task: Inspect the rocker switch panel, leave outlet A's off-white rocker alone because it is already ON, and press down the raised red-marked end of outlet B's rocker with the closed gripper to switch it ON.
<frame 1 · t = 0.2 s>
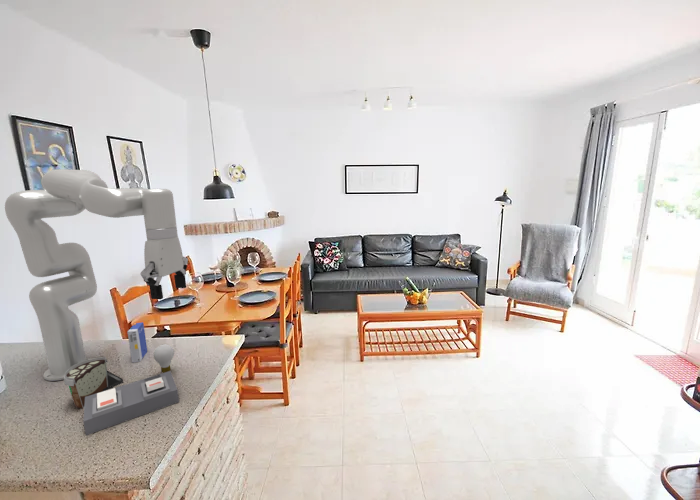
hand: (169, 293, 94), 31 cm above the counter, tool pointing down, fingers open, 9 cm apart
rocker b: (154, 384, 93), point 6 cm above the counter, hinge at -12.0°
rocker a: (106, 399, 87), point 6 cm above the counter, hinge at 12.0°
light bulb: (166, 373, 109), on the counter
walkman: (140, 357, 119), on the counter
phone: (99, 383, 104), on the counter
rocker switch panel: (134, 405, 92), on the counter
food container: (86, 398, 96), on the counter
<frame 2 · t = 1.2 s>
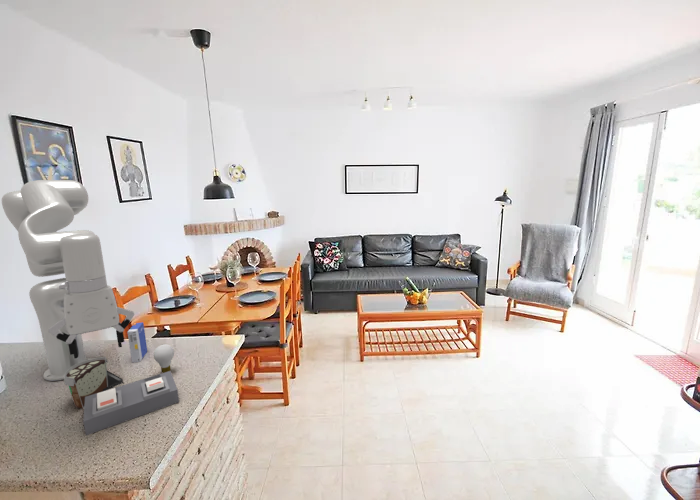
hand: (99, 350, 83), 20 cm above the counter, tool pointing down, fingers open, 8 cm apart
nothing on the counter moved.
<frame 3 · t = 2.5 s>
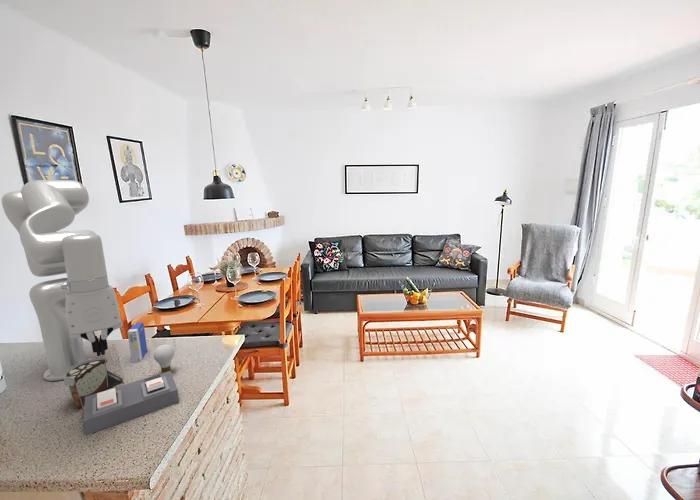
hand: (101, 353, 83), 19 cm above the counter, tool pointing down, fingers closed
nothing on the counter moved.
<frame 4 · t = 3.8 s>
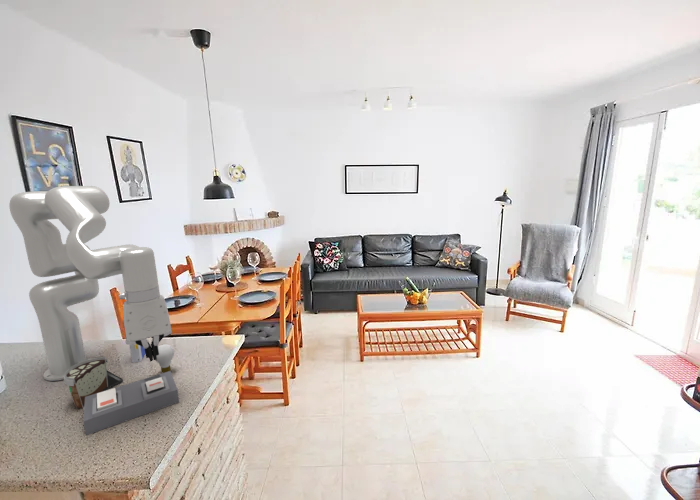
hand: (152, 358, 89), 15 cm above the counter, tool pointing down, fingers closed
nothing on the counter moved.
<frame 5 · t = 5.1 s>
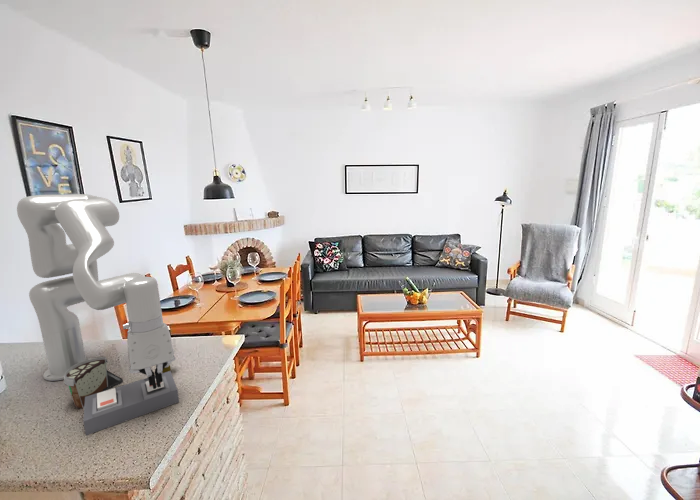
hand: (156, 385, 91), 7 cm above the counter, tool pointing down, fingers closed
rocker b: (154, 384, 93), point 6 cm above the counter, hinge at -9.9°, touching gripper
everything else where it was.
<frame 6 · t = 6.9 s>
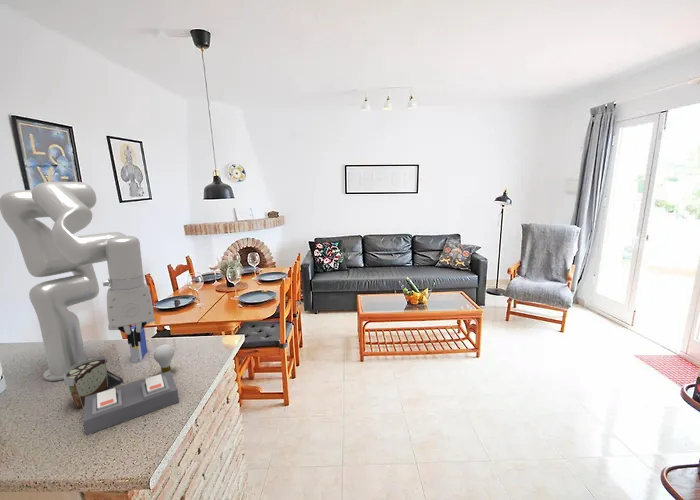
hand: (134, 344, 92), 17 cm above the counter, tool pointing down, fingers closed
rocker b: (154, 384, 93), point 6 cm above the counter, hinge at 10.2°
everything else where it was.
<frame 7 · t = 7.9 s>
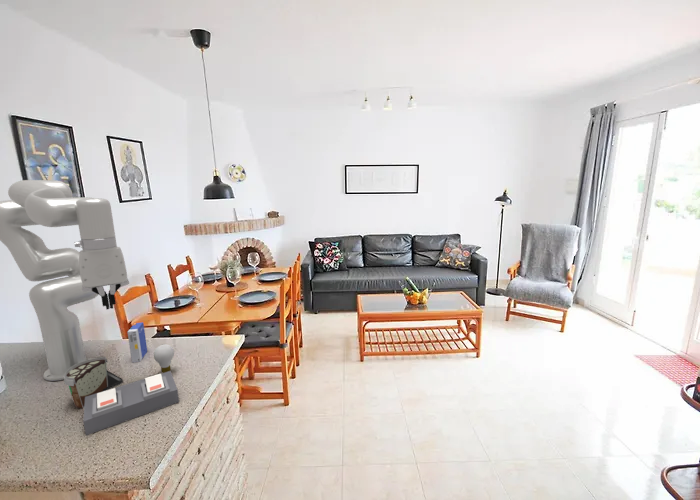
hand: (109, 307, 93), 27 cm above the counter, tool pointing down, fingers closed
rocker b: (154, 384, 93), point 6 cm above the counter, hinge at 16.2°
everything else where it was.
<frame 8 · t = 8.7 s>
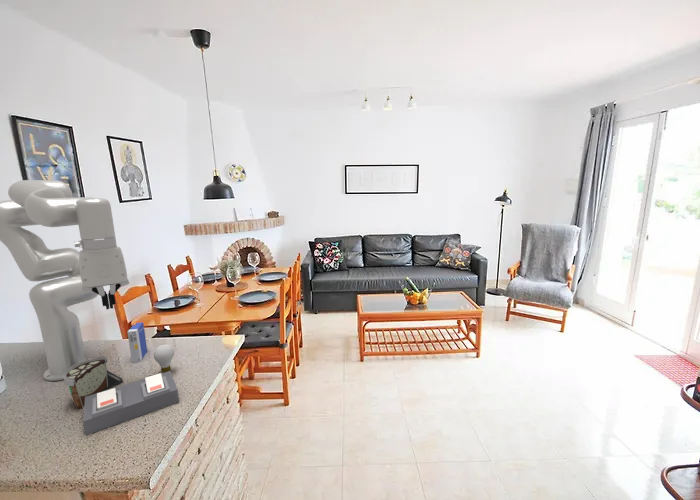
hand: (109, 307, 93), 27 cm above the counter, tool pointing down, fingers closed
rocker b: (154, 384, 93), point 6 cm above the counter, hinge at 19.7°
everything else where it was.
at the end: rocker b at +20° (first picture: -12°); rocker a at +12° (first picture: +12°) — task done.
